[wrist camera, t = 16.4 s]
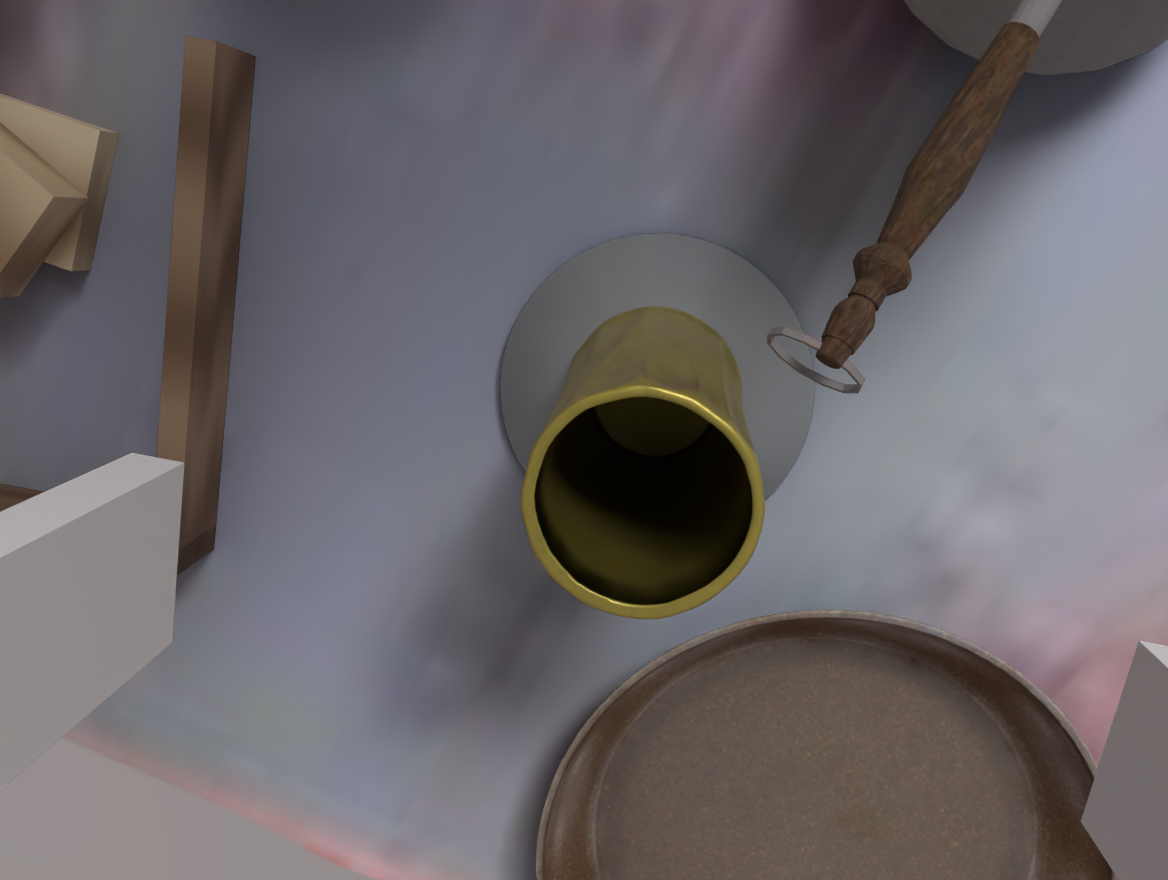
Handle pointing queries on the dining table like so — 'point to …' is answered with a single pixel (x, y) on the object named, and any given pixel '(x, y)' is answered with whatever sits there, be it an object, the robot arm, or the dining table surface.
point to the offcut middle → (30, 211)
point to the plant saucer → (823, 763)
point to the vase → (646, 469)
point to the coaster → (675, 280)
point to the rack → (200, 283)
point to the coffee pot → (972, 134)
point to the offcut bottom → (68, 170)
